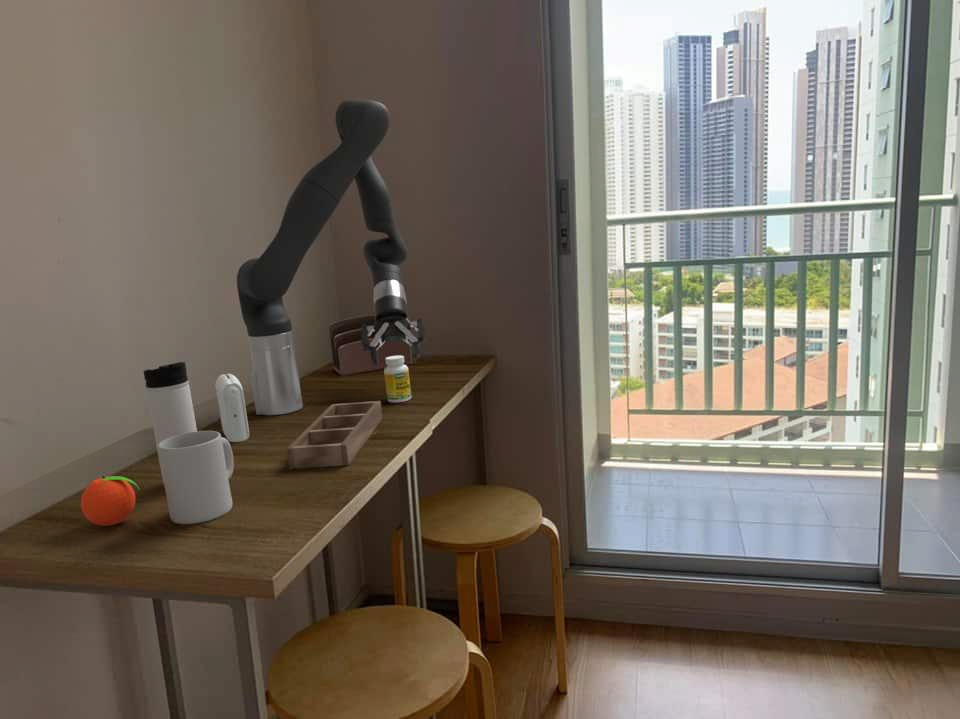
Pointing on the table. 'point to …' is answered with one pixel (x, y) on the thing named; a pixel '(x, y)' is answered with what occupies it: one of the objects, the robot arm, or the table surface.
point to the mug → (197, 476)
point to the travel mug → (169, 402)
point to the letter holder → (350, 349)
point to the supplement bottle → (397, 380)
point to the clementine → (108, 500)
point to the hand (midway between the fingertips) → (395, 361)
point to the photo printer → (232, 408)
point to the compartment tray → (335, 435)
